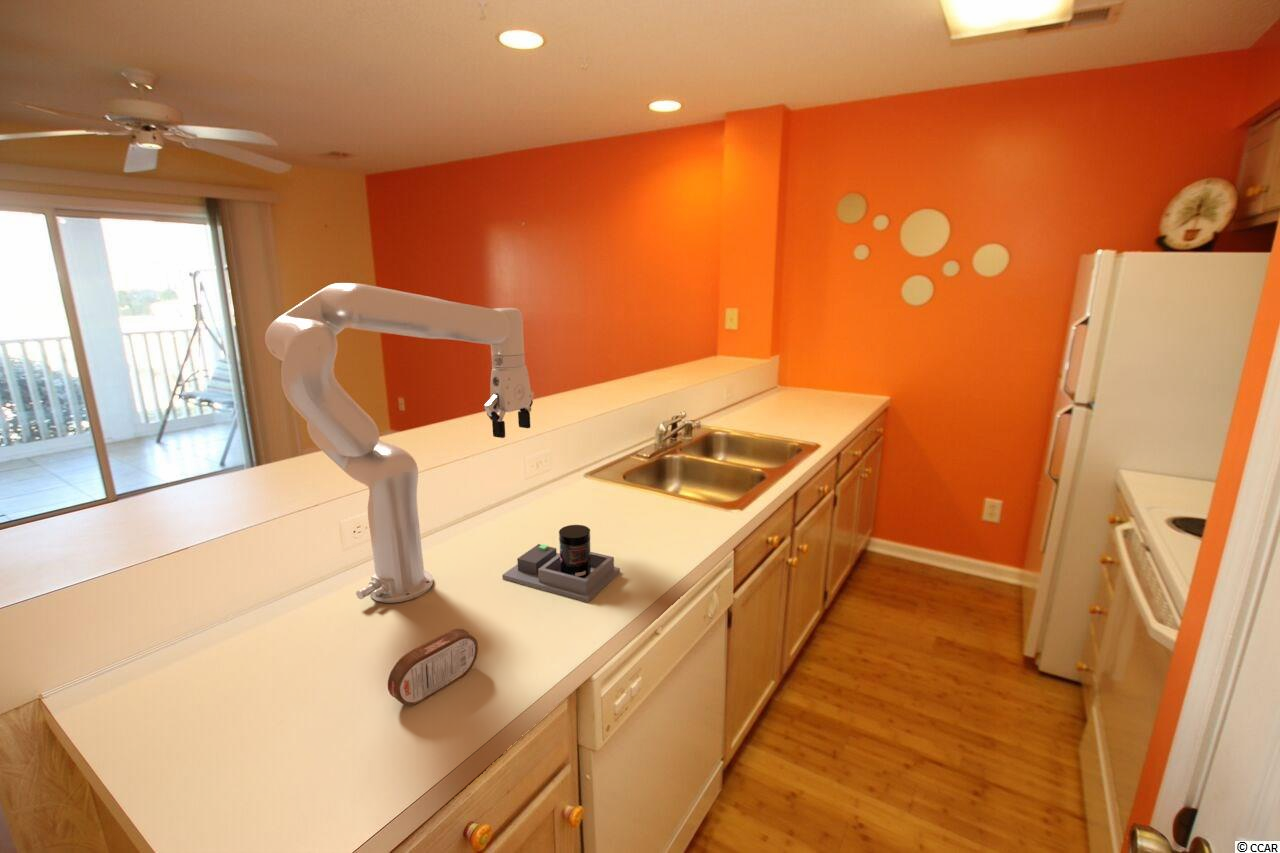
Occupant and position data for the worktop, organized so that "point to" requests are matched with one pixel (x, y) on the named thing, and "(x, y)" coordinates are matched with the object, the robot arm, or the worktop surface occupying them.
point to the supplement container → (575, 550)
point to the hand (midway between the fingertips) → (512, 432)
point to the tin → (432, 666)
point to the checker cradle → (546, 575)
